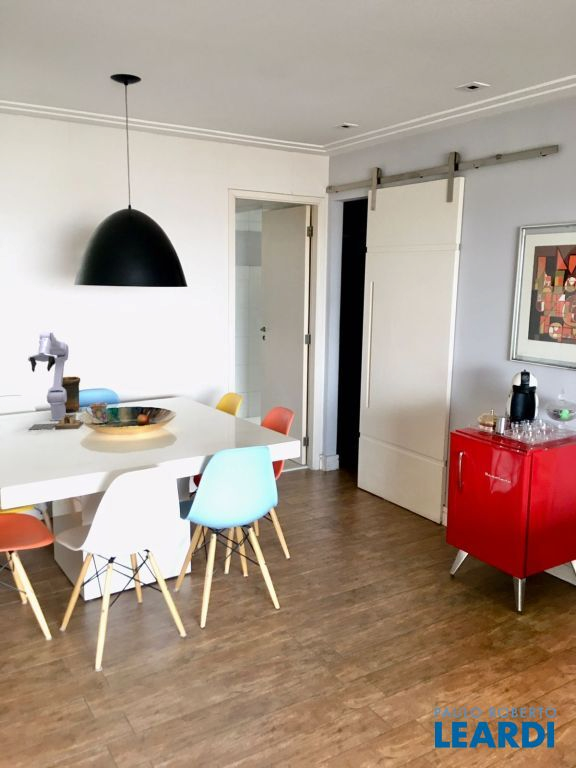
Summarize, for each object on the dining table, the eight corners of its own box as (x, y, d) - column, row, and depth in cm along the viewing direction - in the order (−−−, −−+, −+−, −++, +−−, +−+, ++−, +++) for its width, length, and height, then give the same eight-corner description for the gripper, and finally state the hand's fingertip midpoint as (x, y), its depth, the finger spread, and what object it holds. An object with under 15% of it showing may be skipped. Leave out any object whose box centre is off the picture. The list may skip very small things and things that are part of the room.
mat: (34, 424, 363) (34, 424, 363) (57, 424, 364) (57, 423, 364) (28, 430, 351) (28, 429, 351) (51, 429, 352) (51, 428, 352)
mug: (111, 421, 368) (109, 402, 367) (105, 425, 359) (104, 405, 357) (89, 421, 369) (88, 402, 367) (83, 425, 360) (82, 406, 358)
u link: (65, 421, 361) (64, 415, 361) (75, 420, 362) (75, 414, 361) (61, 424, 354) (61, 418, 353) (72, 424, 354) (72, 417, 353)
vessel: (85, 407, 405) (82, 375, 401) (79, 413, 391) (76, 380, 387) (61, 408, 404) (58, 376, 400) (54, 414, 390) (51, 381, 386)
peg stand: (60, 424, 363) (59, 415, 362) (83, 423, 364) (82, 414, 364) (55, 429, 352) (54, 420, 351) (78, 428, 353) (77, 419, 352)
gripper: (28, 346, 348) (24, 365, 339) (56, 345, 349) (53, 364, 341) (31, 355, 353) (27, 374, 345) (59, 354, 354) (56, 373, 346)
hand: (40, 370), depth 343 cm, fingers open, 7 cm apart
